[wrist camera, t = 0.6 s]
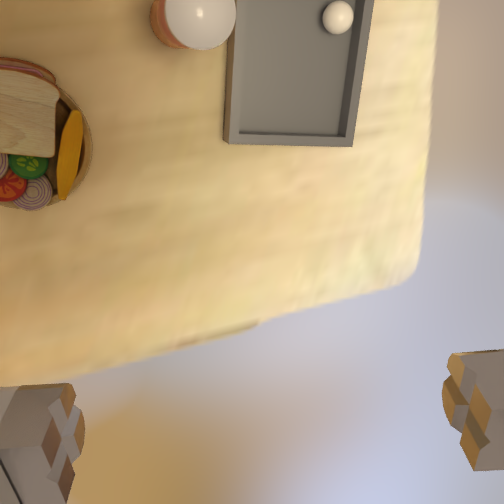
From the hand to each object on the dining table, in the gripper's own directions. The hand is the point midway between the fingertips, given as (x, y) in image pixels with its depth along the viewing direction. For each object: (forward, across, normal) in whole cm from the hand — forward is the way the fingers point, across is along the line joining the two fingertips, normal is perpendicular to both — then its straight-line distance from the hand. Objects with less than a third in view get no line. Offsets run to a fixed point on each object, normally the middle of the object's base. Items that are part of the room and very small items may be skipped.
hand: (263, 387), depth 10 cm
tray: (+45, -6, +1) cm, 46 cm away
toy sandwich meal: (+38, +20, +5) cm, 43 cm away
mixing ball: (+45, -11, -3) cm, 46 cm away
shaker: (+43, +5, -4) cm, 43 cm away
